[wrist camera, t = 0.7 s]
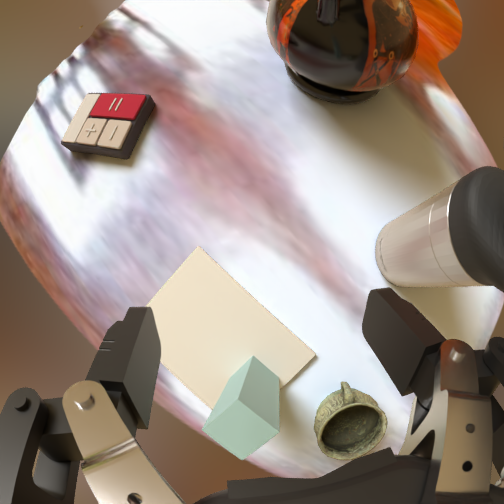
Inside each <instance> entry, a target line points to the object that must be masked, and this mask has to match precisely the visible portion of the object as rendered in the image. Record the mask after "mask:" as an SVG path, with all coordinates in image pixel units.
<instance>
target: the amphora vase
mask: <svg viewBox="0 0 504 504" xmlns="http://www.w3.org/2000/svg"><path fill="white" fill-rule="evenodd" d="M266 25H267V32H268V36H269V39H270V42H271V45H272V46H273V48H274V50H275V51H276V53H277V54H278V55H279V56H280V58H281V59H282V60H283V61H284V62H285V67H286V70H287V73H288V75H289V77H290V78H291V79H292V81H293V82H294V83H295V84H296V85H297V86H299V87H300V88H301V89H302V90H304V91H305V92H307V93H309V94H311V95H313V96H315V97H317V98H320V99H323V100H326V101H329V102H334V103H341V104H357V103H360V102H364V101H367V100H369V99H371V98H372V97H374V96H375V95H376V94H377V92H378V91H379V90H380V88H385V87H387V86H389V85H391V84H392V83H394V82H396V81H397V80H399V79H400V78H402V77H403V76H404V75H405V73H406V72H407V70H408V69H409V67H410V65H411V64H412V62H413V61H414V59H415V56H416V52H417V48H418V22H417V16H416V13H415V11H414V8H413V6H412V4H411V3H410V1H409V0H270V2H269V7H268V13H267V19H266Z"/></svg>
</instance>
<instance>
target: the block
mask: <svg viewBox="0 0 504 504" xmlns="http://www.w3.org/2000/svg"><path fill="white" fill-rule="evenodd" d="M202 430H203V431H204V432H205V433H206V434H208V435H209V436H210V437H211V438H213V439H214V440H215V441H216V442H218V443H219V444H220V445H222V446H223V447H224V448H226V449H227V450H228V451H230V452H231V453H232V454H234V455H235V456H237V457H238V458H239V459H241V460H243V459H245V458H246V457H247V456H249V455H250V454H252V453H253V452H254V451H256V450H257V449H258V448H260V447H261V446H262V445H264V444H265V443H266V442H268V441H269V440H270V439H271V438H273V437H274V436H275V435H276V434H278V433H279V432H280V418H279V377H278V376H277V375H275V374H274V373H273V372H272V371H271V370H270V369H268V368H267V367H266V366H265V365H264V364H263V363H261V362H260V361H259V360H258V359H257V358H256V357H255V356H252V357H251V358H250V359H249V360H248V361H247V362H246V363H245V364H244V365H243V366H242V367H241V368H240V369H239V370H238V371H236V372H235V373H234V374H233V375H232V376H231V377H230V378H229V380H228V382H227V384H226V386H225V388H224V390H223V392H222V393H221V395H220V397H219V399H218V401H217V403H216V405H215V406H214V408H213V410H212V412H211V414H210V416H209V418H208V419H207V421H206V423H205V425H204V427H203V428H202Z"/></svg>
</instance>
